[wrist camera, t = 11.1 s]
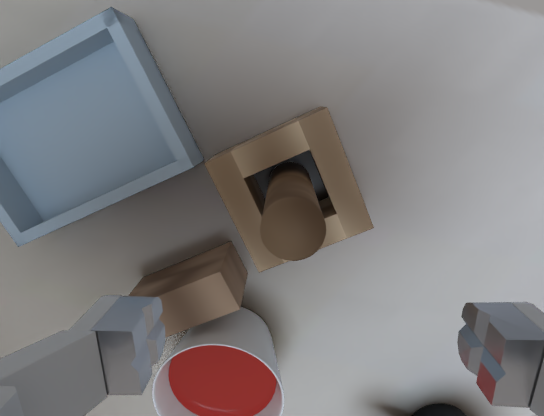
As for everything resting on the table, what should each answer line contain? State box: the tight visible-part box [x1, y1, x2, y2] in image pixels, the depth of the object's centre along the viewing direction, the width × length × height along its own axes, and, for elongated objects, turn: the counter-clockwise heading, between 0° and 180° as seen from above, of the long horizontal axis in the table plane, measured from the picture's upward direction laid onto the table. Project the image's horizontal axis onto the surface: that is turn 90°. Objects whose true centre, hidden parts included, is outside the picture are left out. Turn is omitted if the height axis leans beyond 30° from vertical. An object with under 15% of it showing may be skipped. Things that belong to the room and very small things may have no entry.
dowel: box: [260, 162, 326, 261], centre depth 20 cm, size 3×3×10 cm
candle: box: [152, 307, 284, 416], centre depth 26 cm, size 9×9×6 cm
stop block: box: [129, 242, 248, 337], centre depth 25 cm, size 8×3×5 cm, turn 114°
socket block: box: [204, 107, 374, 273], centre depth 23 cm, size 8×8×4 cm
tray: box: [0, 7, 204, 247], centre depth 23 cm, size 14×10×3 cm
